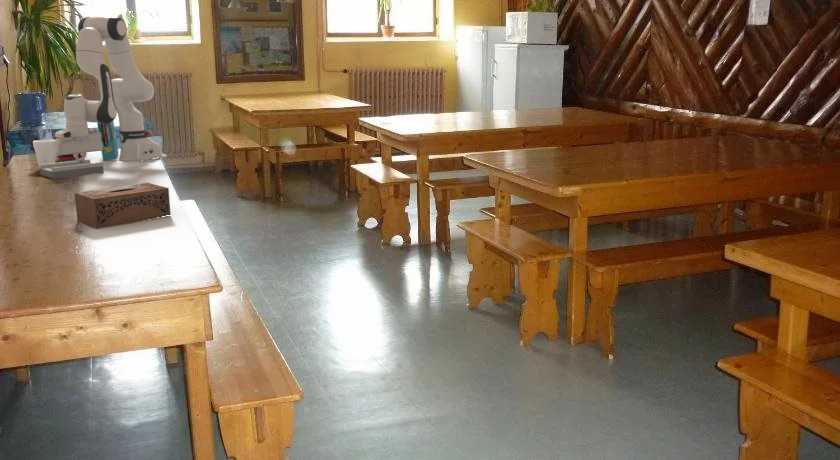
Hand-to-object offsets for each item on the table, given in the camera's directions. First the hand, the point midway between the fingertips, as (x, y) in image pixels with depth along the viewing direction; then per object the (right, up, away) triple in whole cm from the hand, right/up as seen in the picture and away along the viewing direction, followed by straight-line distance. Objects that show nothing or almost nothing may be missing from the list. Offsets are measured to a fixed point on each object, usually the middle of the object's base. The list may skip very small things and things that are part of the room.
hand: (80, 163), depth 359 cm
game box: (-3, +6, +43) cm, 44 cm away
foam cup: (-19, -2, +10) cm, 22 cm away
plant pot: (-21, +5, +38) cm, 44 cm away
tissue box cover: (+52, -27, -88) cm, 105 cm away
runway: (-3, -5, -2) cm, 6 cm away
